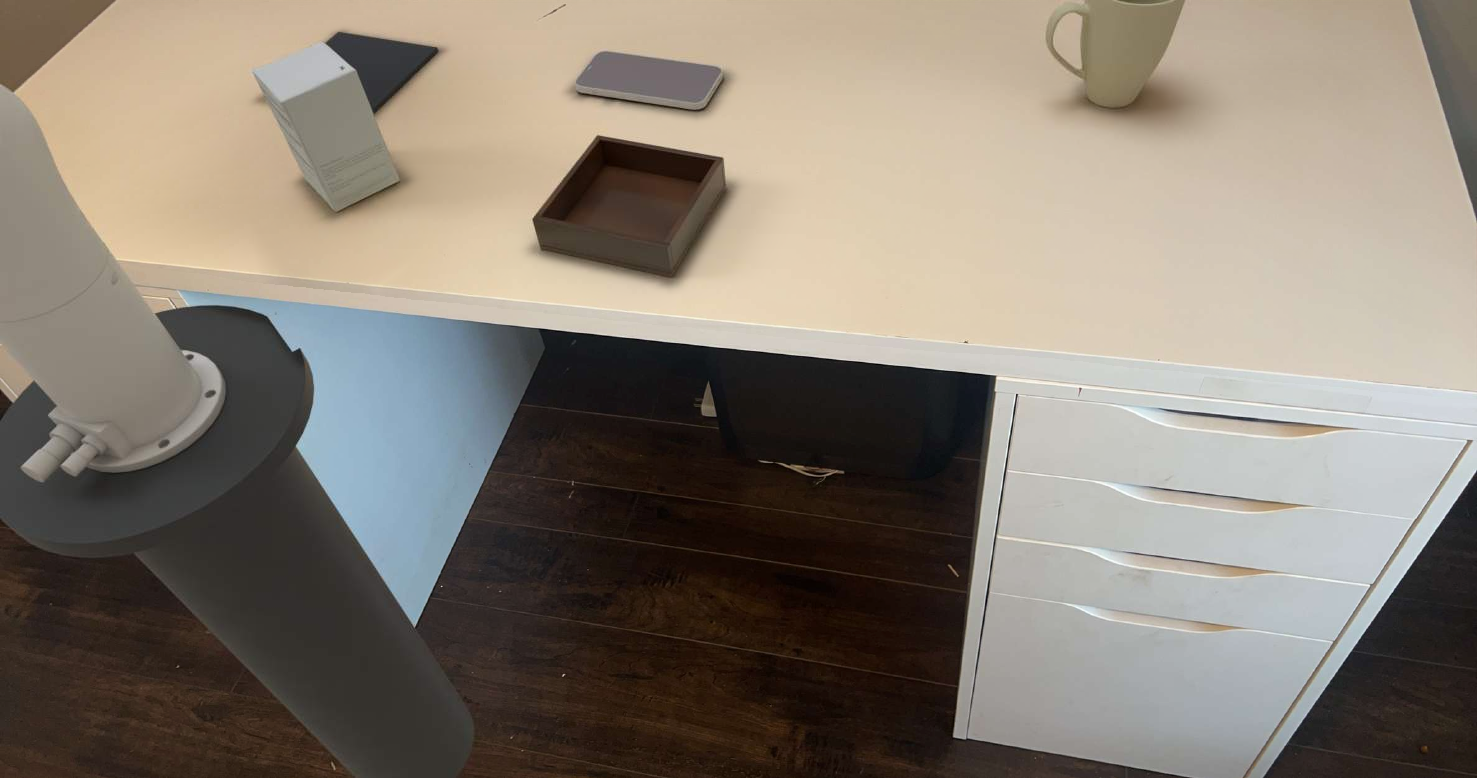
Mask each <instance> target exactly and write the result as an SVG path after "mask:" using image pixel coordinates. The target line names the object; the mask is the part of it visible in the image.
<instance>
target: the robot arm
mask: <svg viewBox="0 0 1477 778" xmlns="http://www.w3.org/2000/svg"><path fill="white" fill-rule="evenodd" d="M155 313H156V312H155V311H154V310H153V309H152V308H151V306H150V305H149V303H148V301H146V299H145V298H144V296H143V295H142V293H141V292H140V291H139V289H138V288H137V286H136V285H135V283H134V282H133V281H132V279H131V278H130V277H129V275H128V273H126V270H124V269H123V267H122V266H121V264H120V263H119V261H118V260H117V259H116V257H115V255H114V254H113V253H112V252H111V250H110V249H109V247H108V246H107V245H106V243H105V242H104V241H103V239H102V238H101V237H100V235H99V234H98V232H97V231H96V230H95V227H94V226H93V225H92V224H91V222H90V221H89V220H88V218H87V216H86V215H85V213H84V212H83V210H82V209H81V208H80V206H79V204H78V203H77V202H76V200H75V198H74V196H73V194H72V193H71V192H70V190H69V188H68V186H67V184H66V182H65V181H64V179H63V177H62V175H61V172H60V170H59V168H58V166H57V163H56V162H55V159H54V156H53V154H52V152H51V150H50V147H49V144H48V142H47V140H46V136H45V135H44V133H43V130H42V128H41V125H40V124H39V123H38V120H37V118H36V117H35V115H34V113H32V110H30V108H29V107H28V105H27V104H26V103H25V102H24V101H23V100H22V99H21V98H20V97H19V96H18V95H17V94H16V93H15V92H13V91H12V90H10V89H9V88H8V87H6V86H5V85H3V84H1V83H0V345H1V346H3V348H4V349H5V350H6V352H8V354H10V356H11V357H12V358H13V359H14V360H15V361H16V362H17V363H18V364H19V366H20V367H21V368H22V369H23V370H24V372H26V373H27V374H28V375H29V377H30V378H31V379H32V381H35V382H36V383H37V384H38V385H39V386H40V388H41V389H42V390H43V391H44V392H45V393H46V394H47V395H48V396H49V397H50V399H51V400H52V401H53V402H54V403H55V404H56V405H57V407H56V408H54V409H53V410H52V411H51V412H50V413H49V414H48V416H49V417H50V418H51V419H52V421H53V422H54V423H55V424H56V425H57V426H56V428H54V429H53V430H52V431H51V432H50V433H49V435H50V437H51V438H52V439H51V440H50V441H49V442H48V443H47V444H46V445H45V446H44V447H42V448H41V449H39V450H38V451H37V452H36V453H35V454H34V455H32V456H31V457H30V458H29V459H28V460H27V461H26V462H25V463H24V464H23V465H22V466H21V469H22V471H24V472H25V473H26V474H27V475H28V476H30V477H31V478H33V479H35V480H37V481H39V482H45V481H46V480H47V479H48V478H49V477H50V476H51V475H52V474H53V473H54V472H55V471H56V470H57V469H58V468H59V467H61V468H62V469H63V470H64V471H65V472H67V473H68V474H70V475H72V476H75V477H77V476H78V475H79V473H80V472H81V471H82V470H83V469H84V468H85V467H88V468H90V469H93V470H97V471H101V472H112V473H117V472H128V471H134V470H138V469H142V468H146V467H149V466H152V465H155V464H157V463H160V462H163V461H165V460H166V459H168V458H170V457H172V456H174V455H176V454H178V453H179V452H181V451H183V450H184V449H186V448H187V447H189V446H190V445H191V444H192V443H194V442H195V441H196V440H197V439H198V438H200V437H201V436H202V435H203V434H204V433H205V432H206V430H207V429H208V428H209V427H210V426H211V425H212V424H213V422H214V421H215V419H216V418H217V416H218V415H219V413H220V411H221V408H222V406H223V404H224V400H225V395H226V385H225V380H224V378H223V376H222V373H221V372H220V371H219V369H218V368H217V366H216V365H215V364H214V363H213V362H212V361H211V360H210V359H209V358H207V357H205V356H203V355H201V354H199V353H195V352H191V351H187V350H180V348H179V347H178V345H177V344H176V343H175V341H174V340H173V338H172V337H171V336H170V334H169V333H168V331H167V330H166V329H165V327H164V326H163V324H162V323H161V322H160V320H159V319H158V317H157V316H156V315H155ZM70 454H71V455H70ZM69 455H70V456H69ZM68 456H69V457H68ZM67 457H68V458H67ZM66 458H67V459H66ZM65 459H66V460H65ZM64 460H65V461H64ZM63 461H64V462H63ZM62 462H63V464H62V465H61V463H62Z"/></svg>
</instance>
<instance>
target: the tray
mask: <svg viewBox="0 0 1477 778" xmlns="http://www.w3.org/2000/svg"><path fill="white" fill-rule="evenodd" d="M726 189H727V181H726V169H725V159H724V157H723V156H718V155H711V154H706V153H700V152H695V151H691V150H690V151H689V150H683V149H677V148H673V147H666V146H661V145H655V144H649V143H644V142H639V141H634V140H633V141H632V140H628V139H623V138H622V139H621V138H616V137H610V136H604V135H599V134H597V135H596V136H595V137H594V139H592V141H591V143H590V144H589V145H588V146H587V148H586V149H585V151H583V153H582V154H581V155H580V157H579V158H578V159H577V160H576V162H575V163H574V164H573V166H572V167H571V168H570V170H569V171H568V172H567V173H566V175H565V176H564V177H563V178H562V179H561V181H560V182H559V184H558V185H557V187H556V188H555V189H554V190H553V191H552V193H551V194H550V195H549V197H548V198H547V199H546V200H545V202H544V203H543V204H542V205H541V207H540V208H539V209H538V211H537V212H536V213H535V215H534V216H533V217H532V218H531V219H532V224H533V227H534V231H535V235H536V238H537V241H538V245H539V249H540V250H545V251H548V252H553V253H557V254H563V255H567V256H571V257H576V258H581V259H586V260H589V261H594V262H600V263H604V264H608V265H612V266H618V267H622V268H626V269H627V268H628V269H631V270H635V271H640V272H645V273H649V274H654V275H659V276H664V277H667V278H673V276H674V275H675V274H676V271H677V270H678V268H679V266H680V265H681V263H682V262H683V260H684V258H685V256H686V254H687V253H688V251H689V250H690V248H691V247H692V245H693V244H694V242H695V240H696V238H697V237H698V235H699V234H700V232H701V231H702V228H703V227H704V225H705V223H706V222H707V220H708V219H709V217H710V215H711V214H712V212H713V210H714V208H716V205H717V204H718V202H719V201H720V199H721V197H722V196H723V194H724V193H725V190H726Z"/></svg>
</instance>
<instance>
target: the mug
mask: <svg viewBox="0 0 1477 778" xmlns="http://www.w3.org/2000/svg"><path fill="white" fill-rule="evenodd" d="M1185 2H1186V0H1084V3H1083V4H1081V3H1076V2H1066V3H1063V4H1060V5H1058V6H1057V7H1056V8H1055V9H1054V10H1053V11H1052V13H1050V16H1049V18H1048V21H1047V24H1046V28H1045V44H1046V48H1047V49H1048V51H1049V53H1050V54H1051V56H1052V57H1053V58H1054V59H1055V61H1056V62H1058V63H1059V64H1060V65H1061V66H1062V67H1063V68H1064V69H1065V70H1067V71H1068V72H1070V73H1071V74H1073V75H1074V76H1075V77H1077V78H1080V79H1083V83H1084V91H1085V96H1086V97H1087V99H1088V100H1089V101H1090V102H1091V103H1093V104H1095V105H1097V106H1100V107H1103V108H1110V109H1118V108H1125V107H1127V106H1129V105H1132V103H1134V101H1135V100H1136V98H1137V97H1138V95H1139V93H1140V92H1141V91H1142V89H1143V88H1144V86H1145V85H1146V84H1147V82H1148V80H1149V79H1150V78H1151V76H1153V75H1152V74H1153V73H1154V72H1155V70H1156V68H1157V67H1158V66H1159V64H1160V62H1161V61H1162V59H1163V58H1164V55H1165V53H1166V51H1167V50H1168V47H1169V45H1170V43H1171V39H1172V37H1173V35H1174V32H1175V30H1176V27H1177V24H1178V21H1179V19H1180V16H1181V13H1182V10H1183V8H1184V5H1185ZM1068 14H1076V15H1079V16H1080V17H1081V18H1082V19H1081V27H1080V37H1079V42H1080V43H1079V46H1080V47H1079V49H1080V60H1081V62H1080V63H1081V68H1076V67H1075V66H1073V65H1072V64H1071V63H1070V62H1068V61H1067V60H1066V59H1065V58H1064V57H1063V56H1062V55H1061V54H1059V52H1058V51H1057V50H1056V48H1055V46H1054V36H1055V32H1056V28H1057V26H1058V25H1059V23H1060V21H1061V20H1062V19H1063V17H1065V16H1066V15H1068Z"/></svg>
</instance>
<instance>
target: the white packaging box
mask: <svg viewBox="0 0 1477 778" xmlns="http://www.w3.org/2000/svg"><path fill="white" fill-rule="evenodd" d="M325 43H326V42H324V41H319V42H317V43H314V44H312V45H310V46H308V47H307V46H306V47H305V48H303V49H301V50H298V51H295V52H294V53H291V54H287V55H286V56H284V57H281V58H278V59H276V60H274V61H271V62H269V63H266V64H265V65H262V66H260V67H257V68H254V69H252V70H251V72H252V74H253V77H254V79H255V81H256V83H257V84H258V87H259V88H260V90H261V93H262V94H263V97H264V99H265V101H266V103H267V105H268V107H269V110H270V111H271V113H272V115H273V117H274V119H275V121H276V123H277V125H278V127H279V129H280V131H281V133H282V135H283V137H284V140H285V141H286V144H287V145H288V148H289V150H290V152H291V154H292V156H293V158H294V160H295V162H296V164H297V166H298V169H299V171H300V172H301V174H302V176H303V178H304V180H305V181H306V182H307V183H308V185H310V186H311V188H312V189H313V190H315V192H316V193H317V194H318V195H319V196H320V197H321V198H322V199H323V201H324V202H325V203H326V204H327V205H328V206H329V207H330V208H331V209H332V210H333V211H334V212H335V213H338V212H339V211H341V210H344V209H345V208H347V207H350V206H351V205H354V204H355V203H357V202H360V201H361V200H363V199H366V198H367V197H370V196H372V195H373V194H376V193H378V192H380V191H382V190H383V189H386V188H388V187H390V186H392V185H394V184H397V183H398V182H400V181H401V179H400V176H399V174H398V172H397V168H396V166H395V164H394V162H393V158H392V157H391V153H390V152H389V149H388V147H387V144H386V142H385V139H384V137H383V134H382V132H381V129H380V126H379V124H378V121H377V119H376V116H375V113H374V114H373V111H372V109H371V106H370V104H369V101H368V99H367V96H366V94H365V91H364V89H363V86H362V84H361V81H360V79H359V76H358V74H357V71H356V70H355V69H354V68H353V67H351V66H350V65H349V64H348V63H347V62H346V61H344V60H343V59H342V58H341V57H340V56H339V55H338V54H337V53H335V52H334V51H333V50H332V49H331V48H330V47H329V46H327V45H326V44H325Z"/></svg>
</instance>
